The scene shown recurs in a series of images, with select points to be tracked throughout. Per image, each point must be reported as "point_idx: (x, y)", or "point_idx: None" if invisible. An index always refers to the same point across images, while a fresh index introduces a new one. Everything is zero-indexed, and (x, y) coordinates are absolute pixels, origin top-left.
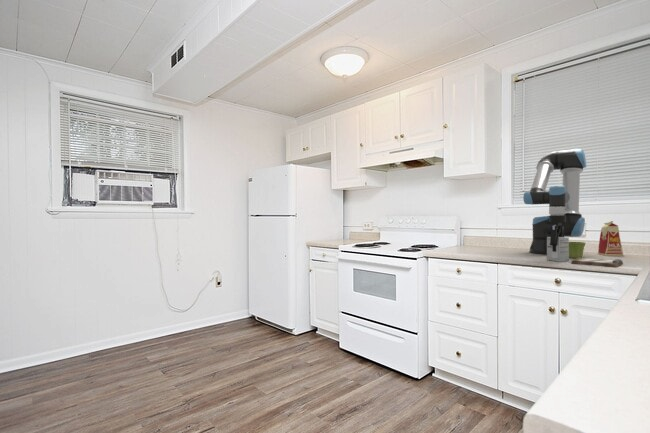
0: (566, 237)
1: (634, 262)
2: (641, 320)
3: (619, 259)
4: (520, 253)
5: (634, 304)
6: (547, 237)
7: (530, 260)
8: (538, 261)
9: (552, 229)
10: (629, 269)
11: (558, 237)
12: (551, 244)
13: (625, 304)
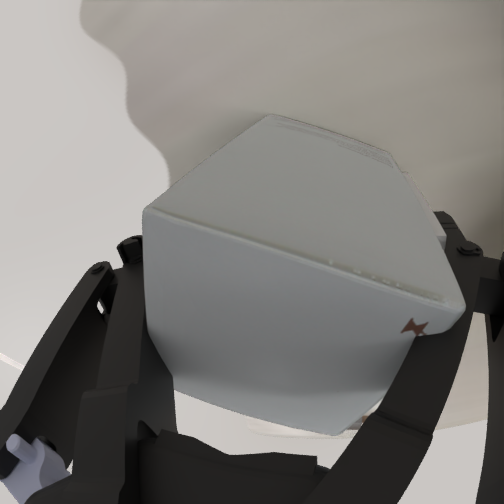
0: (322, 428)
1: (449, 416)
2: (5, 361)
3: (354, 428)
4: None
5: (21, 367)
6: (145, 219)
7: (147, 48)
8: (146, 114)
9: (13, 424)
10: (247, 420)
11: (203, 380)
12: (128, 260)
13: (15, 362)
